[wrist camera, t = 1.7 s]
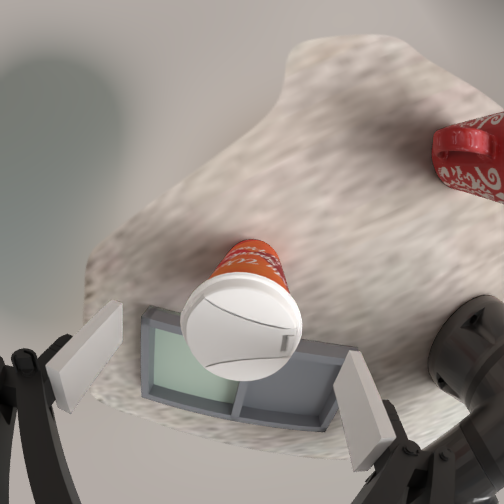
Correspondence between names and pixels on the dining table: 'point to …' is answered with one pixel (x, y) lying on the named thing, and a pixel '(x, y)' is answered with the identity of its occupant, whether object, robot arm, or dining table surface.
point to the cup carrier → (239, 392)
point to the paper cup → (243, 315)
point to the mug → (472, 156)
